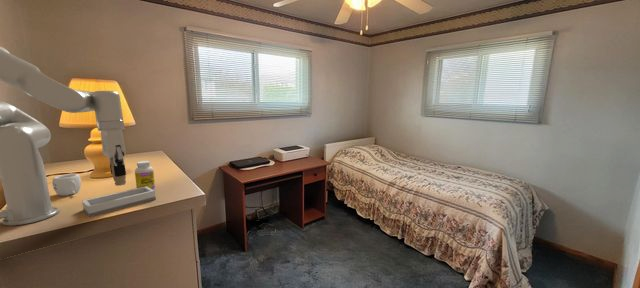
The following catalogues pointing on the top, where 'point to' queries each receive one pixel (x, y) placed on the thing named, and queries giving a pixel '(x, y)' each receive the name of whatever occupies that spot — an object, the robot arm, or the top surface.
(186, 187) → the top surface
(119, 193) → the track
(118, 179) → the handle
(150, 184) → the supplement bottle
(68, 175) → the mug
